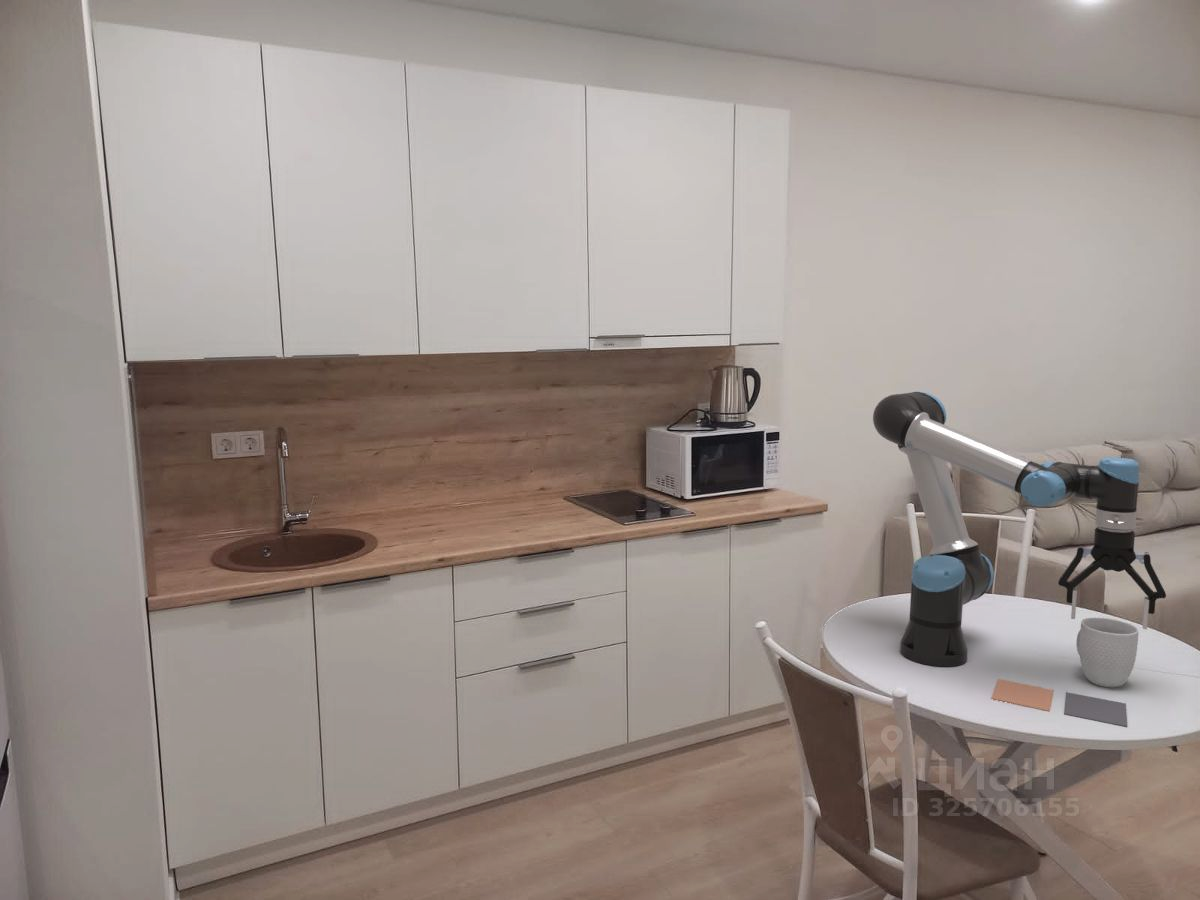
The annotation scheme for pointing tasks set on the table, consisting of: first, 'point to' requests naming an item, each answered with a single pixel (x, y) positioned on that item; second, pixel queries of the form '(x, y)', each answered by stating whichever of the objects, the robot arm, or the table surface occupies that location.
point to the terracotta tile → (1023, 695)
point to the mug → (1107, 650)
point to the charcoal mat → (1096, 709)
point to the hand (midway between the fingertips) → (1108, 622)
